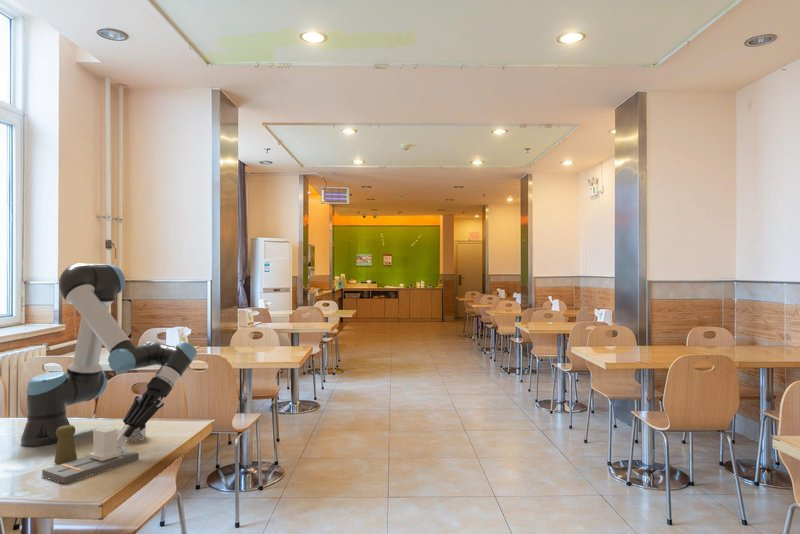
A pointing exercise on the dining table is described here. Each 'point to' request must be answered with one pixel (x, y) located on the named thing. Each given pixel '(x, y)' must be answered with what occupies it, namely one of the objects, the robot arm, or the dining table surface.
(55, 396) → the robot arm
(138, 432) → the mug
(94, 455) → the slider handle
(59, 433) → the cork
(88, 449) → the dining table surface
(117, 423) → the dining table surface
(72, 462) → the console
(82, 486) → the dining table surface
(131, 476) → the dining table surface
